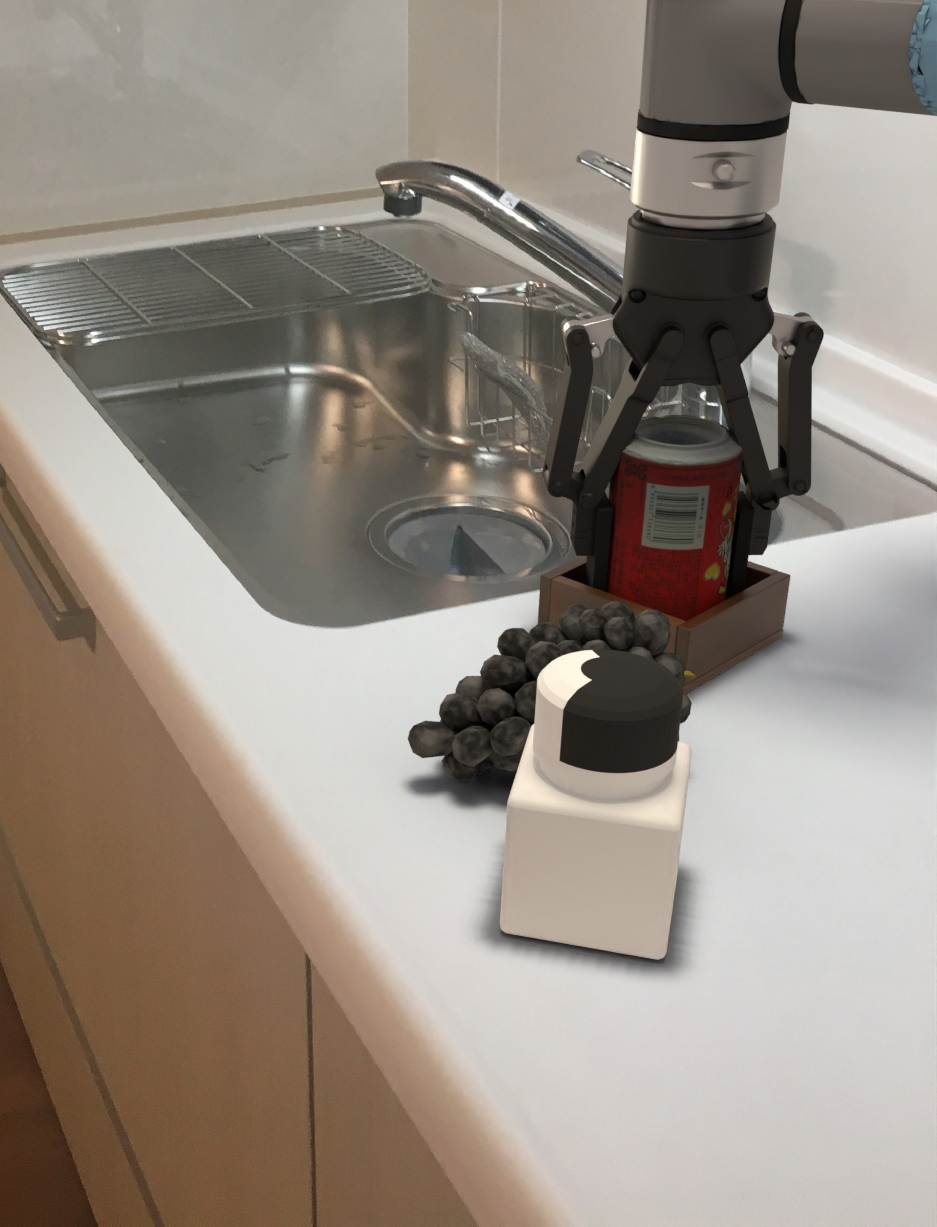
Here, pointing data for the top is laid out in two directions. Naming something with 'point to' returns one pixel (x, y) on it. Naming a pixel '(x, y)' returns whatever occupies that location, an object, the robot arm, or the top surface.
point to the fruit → (531, 685)
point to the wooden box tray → (700, 640)
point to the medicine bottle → (598, 806)
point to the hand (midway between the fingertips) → (661, 602)
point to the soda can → (674, 515)
